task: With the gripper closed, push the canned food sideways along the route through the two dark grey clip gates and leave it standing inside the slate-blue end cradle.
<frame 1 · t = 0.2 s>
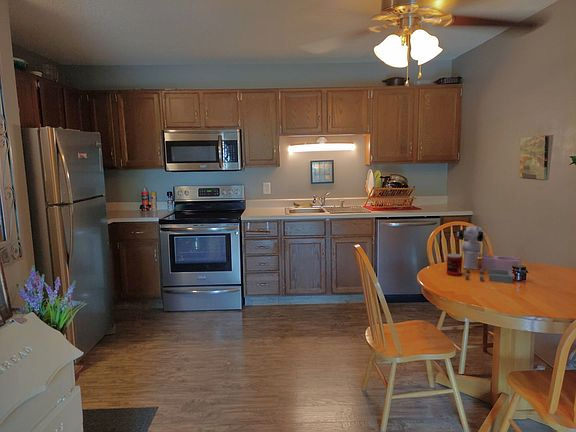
hand: (470, 237, 218), 22 cm above the table, tool horizontal, fingers open, 7 cm apart
clip gate 1: (467, 275, 221), on the table
canned food: (453, 274, 224), on the table
end cradle: (498, 278, 215), on the table
clip: (500, 270, 233), on the table
clip gate 2: (481, 276, 218), on the table
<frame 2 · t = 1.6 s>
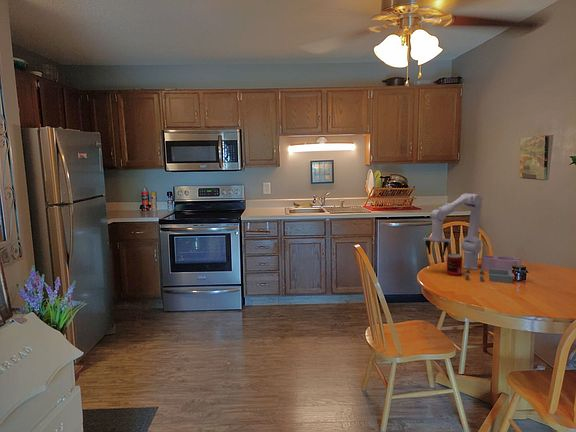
hand: (436, 254, 227), 10 cm above the table, tool pointing down, fingers open, 7 cm apart
nothing on the table moved.
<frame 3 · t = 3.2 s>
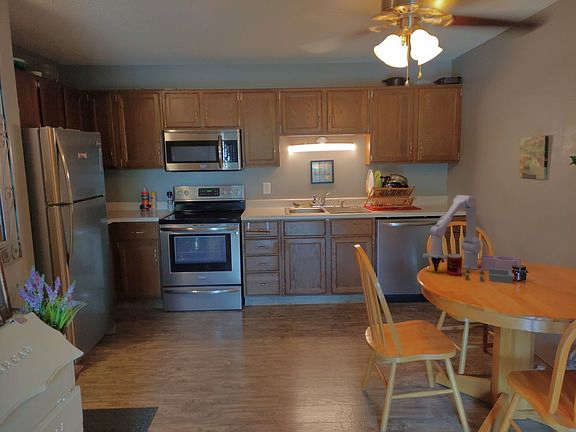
hand: (436, 270, 228), 1 cm above the table, tool pointing down, fingers closed
nothing on the table moved.
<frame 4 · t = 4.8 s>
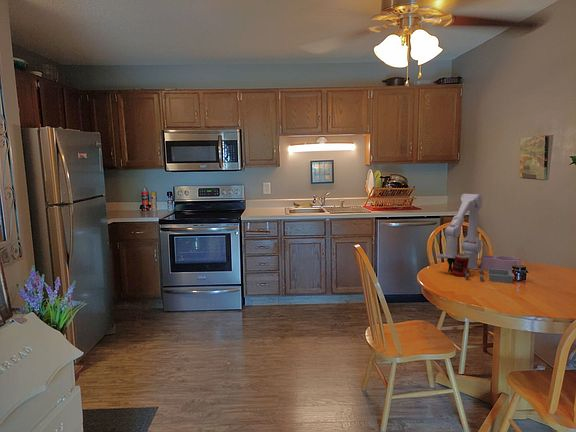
hand: (450, 271, 224), 1 cm above the table, tool pointing down, fingers closed, pressing on canned food
canned food: (458, 274, 223), on the table, touching gripper
everything else where it was.
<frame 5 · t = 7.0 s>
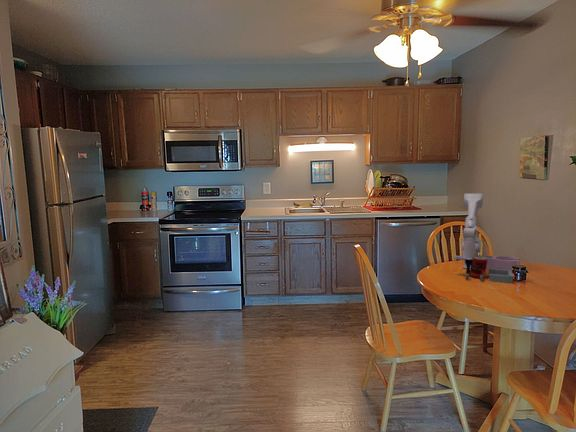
hand: (468, 273, 221), 1 cm above the table, tool pointing down, fingers closed, pressing on canned food
canned food: (477, 276, 219), on the table, touching gripper
everything else where it was.
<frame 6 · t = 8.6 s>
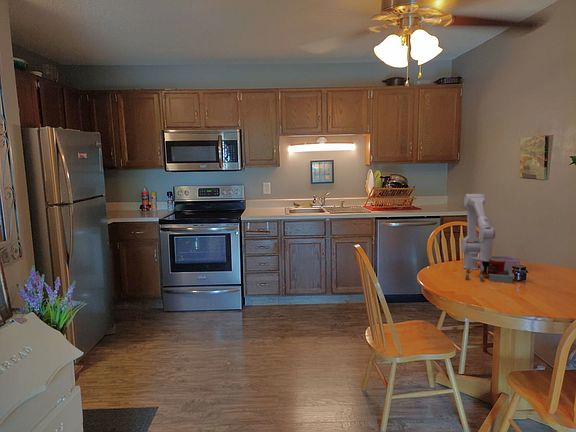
hand: (485, 275, 217), 1 cm above the table, tool pointing down, fingers closed, pressing on canned food
canned food: (494, 278, 215), on the table, touching gripper
everything else where it was.
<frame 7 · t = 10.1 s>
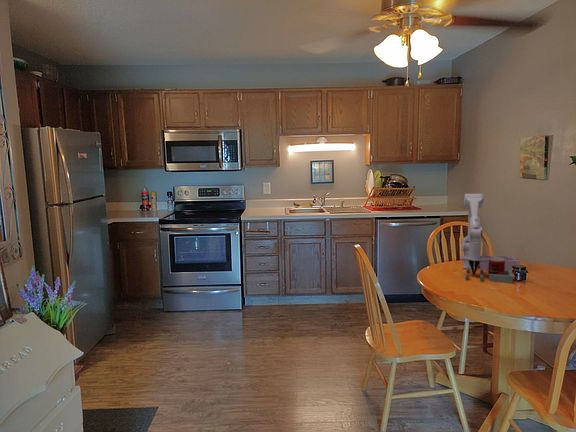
hand: (473, 274, 220), 1 cm above the table, tool pointing down, fingers closed
canned food: (495, 279, 214), on the table
everything else where it was.
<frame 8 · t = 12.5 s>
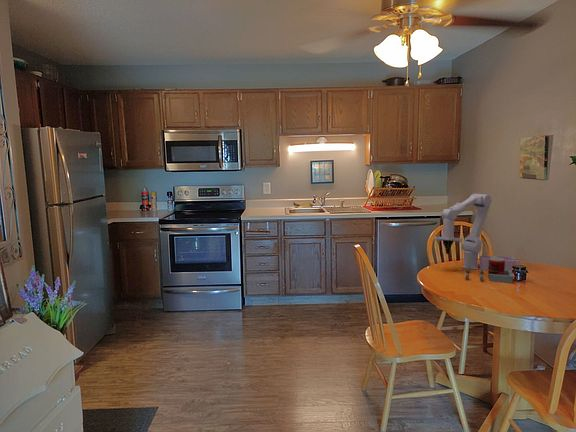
hand: (447, 253, 229), 10 cm above the table, tool pointing down, fingers closed
at the end: canned food inside the target area on the end cradle (1.2 cm from its centre), point 0.0 cm above the end cradle's base; canned food tilted 0°; canned food moved 20.9 cm from its start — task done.
